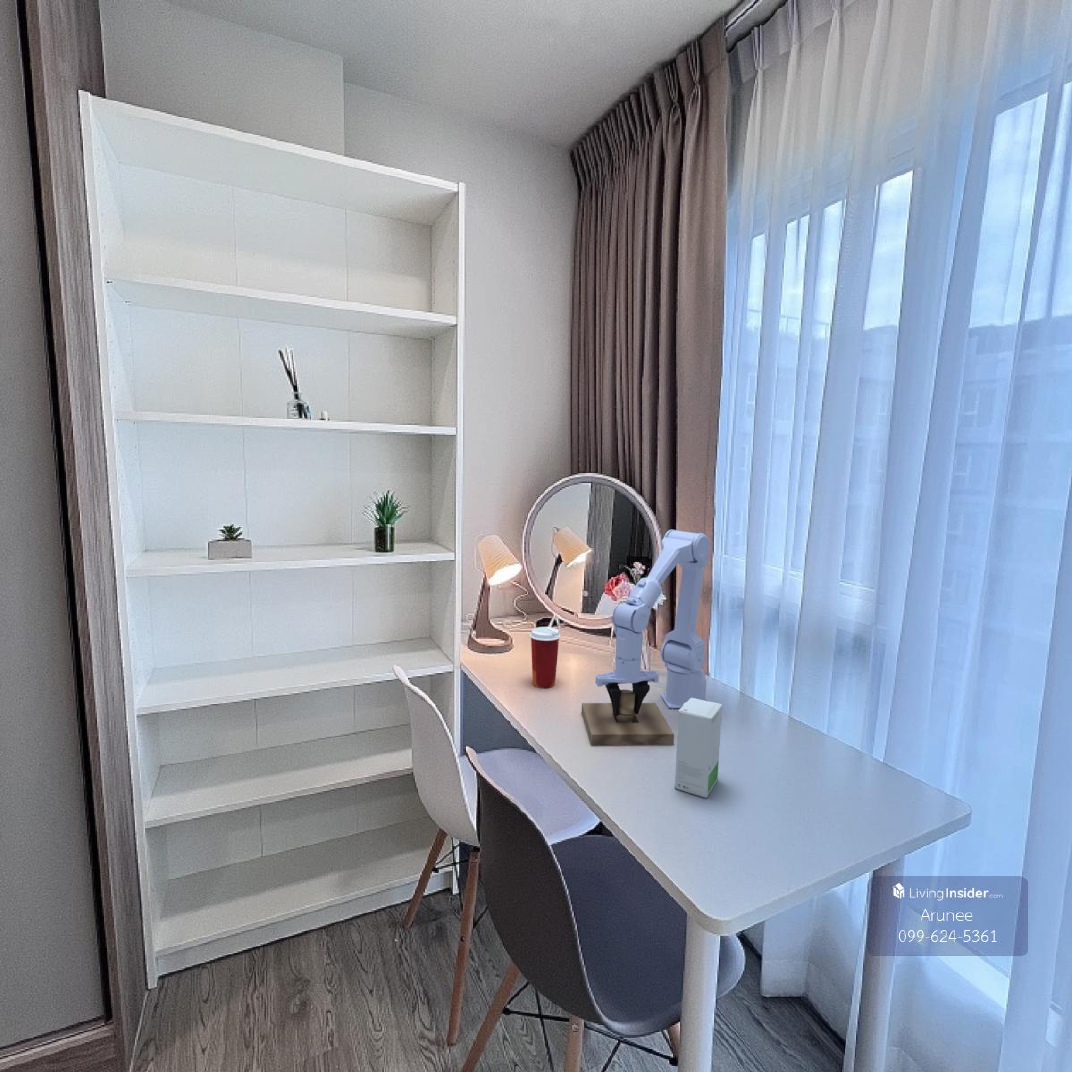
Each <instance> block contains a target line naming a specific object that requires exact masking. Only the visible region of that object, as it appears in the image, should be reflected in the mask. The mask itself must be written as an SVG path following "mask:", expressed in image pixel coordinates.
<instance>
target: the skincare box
mask: <svg viewBox="0 0 1072 1072" xmlns="http://www.w3.org/2000/svg"><path fill="white" fill-rule="evenodd" d="M722 707H723V704H722V703H719V702H713V701H709V700H705V701H704V700H700V699H695V698H690V699H689V700H688V701H687V702H685V703H684V704H683V706H682V707H681V708H678V712H677V713H678V715H677V736H676V753H675V754H676V756H675V759H676V761H675V776H674V777H675V778H674V789H677V790H679V791H683V792H684V793H685V792H686V793H688V794H692V795H694V796H697V797H702V798H706V799H707V798H708V797H709V794H710V793H711V792H712V790H713V788H714V786H715V785H716V783H717V781H718V777H719V762H720V761H719V760H720V745H721V744H720V743H721V730H722V729H721V726H722Z"/></svg>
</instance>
